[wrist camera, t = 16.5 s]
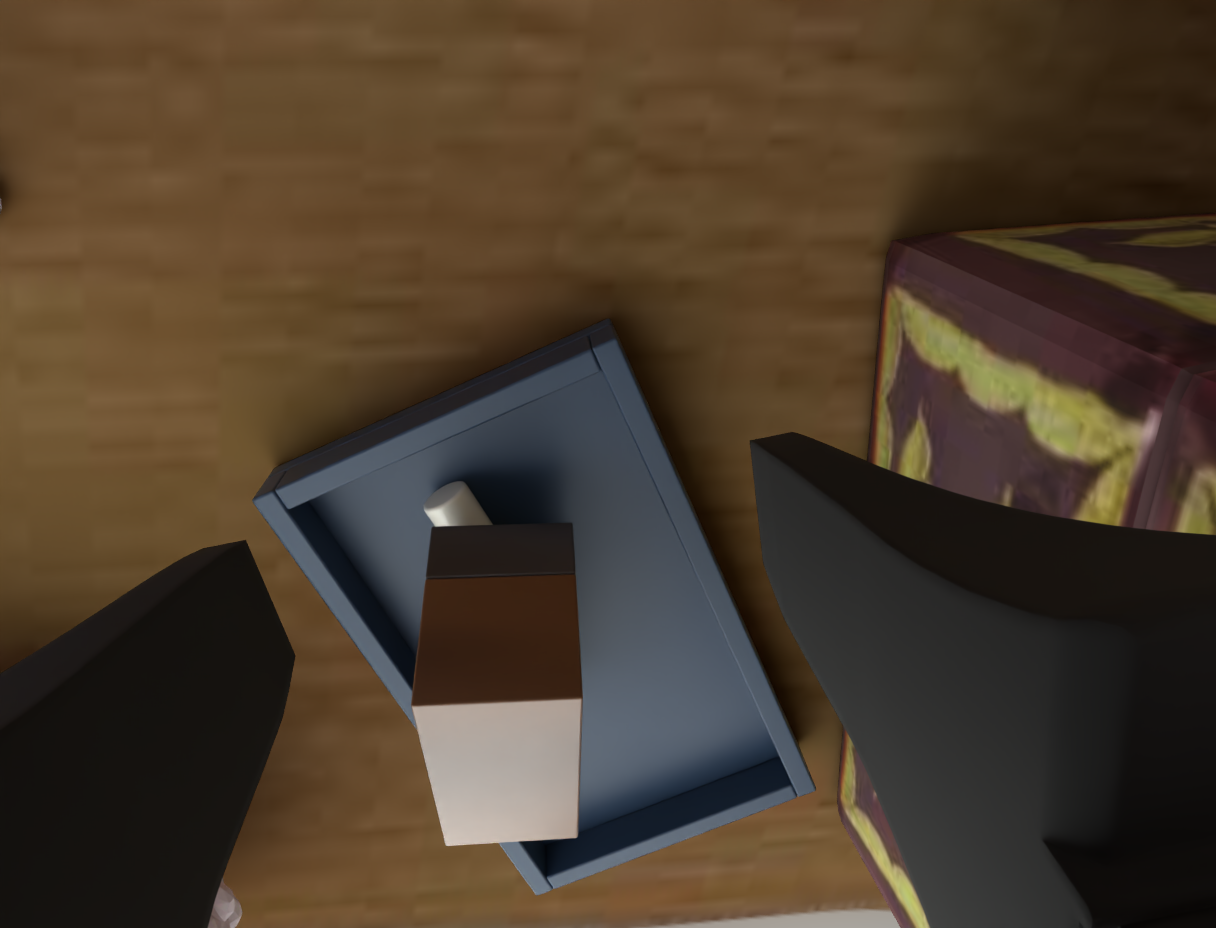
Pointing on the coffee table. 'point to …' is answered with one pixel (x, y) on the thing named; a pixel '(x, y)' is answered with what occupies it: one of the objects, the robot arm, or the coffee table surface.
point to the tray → (606, 589)
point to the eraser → (501, 682)
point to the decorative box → (1044, 399)
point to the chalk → (455, 507)
